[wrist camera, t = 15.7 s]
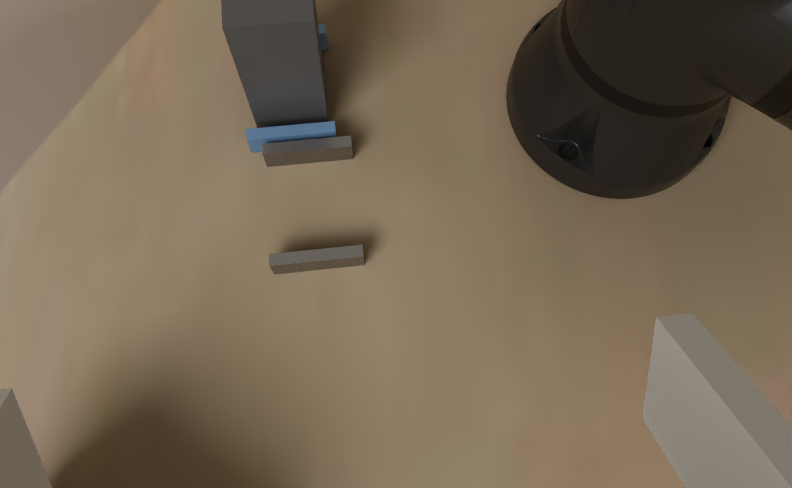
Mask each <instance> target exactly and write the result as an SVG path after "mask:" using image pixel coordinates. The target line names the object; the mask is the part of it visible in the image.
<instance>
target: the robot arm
mask: <svg viewBox="0 0 792 488" xmlns="http://www.w3.org/2000/svg"><path fill="white" fill-rule="evenodd" d="M732 96H734V97H735V98H737V99H739V100H741V101H743V102H744V103H746V104H748V105H750V106H752V107H753V108H755V109H757V110H759V111H760V112H762V113H764V114H766V115H768V116H769V117H771V118H772V119H773V120H775V121H777V122H779V123H780V124H782V125H784V126H785V127H787V128H789V129H790V130H792V0H562V1H561V2H560V3H559V5H558V7H557V8H555V9H553V10H552V11H550V12H549V13H548V14H546V15H545V16H544V17H543V18H542V19H540V20H539V21H538V22H537V23H536V24H535V25H534V26H533V28H532V29H531V30H530V31H529V33H528V34H527V35H526V37H525V38H524V40H523V42H522V43H521V45H520V47H519V49H518V51H517V54H516V56H515V59H514V62H513V65H512V68H511V71H510V74H509V78H508V83H507V95H506V98H507V109H508V114H509V118H510V122H511V125H512V127H513V130H514V132H515V134H516V136H517V138H518V140H519V142H520V144H521V145H522V147H523V148H524V150H525V151H526V152H527V154H528V155H529V156H530V157H531V158H532V160H533V161H534V162H535V163H536V164H537V165H538V166H539V167H540V168H542V169H543V170H544V171H545V172H546V173H548V174H549V175H550V176H552V177H553V178H555V179H556V180H558V181H559V182H561V183H563V184H565V185H567V186H569V187H571V188H573V189H575V190H578V191H581V192H583V193H587V194H590V195H594V196H599V197H605V198H615V199H627V198H637V197H643V196H648V195H651V194H654V193H657V192H660V191H662V190H665V189H667V188H669V187H671V186H672V185H674V184H676V183H677V182H679V181H680V180H681V179H683V178H684V177H685V176H686V175H687V174H689V173H690V172H691V171H692V170H693V169H694V168H695V167H696V166H697V165H698V164H699V163H700V162H701V161H702V160H703V159H704V158H705V157H706V156H707V155H708V153H709V152H710V151H711V149H712V148H713V146H714V145H715V143H716V141H717V139H718V137H719V135H720V133H721V131H722V128H723V125H724V122H725V118H726V115H727V112H728V109H729V105H730V102H731V99H732ZM643 419H644V421H645V423H646V424H647V426H648V428H649V429H650V431H651V433H652V434H653V436H654V437H655V439H656V441H657V442H658V444H659V446H660V447H661V449H662V450H663V452H664V454H665V455H666V457H667V459H668V460H669V462H670V463H671V465H672V467H673V468H674V470H675V472H676V473H677V475H678V476H679V478H680V480H681V481H682V483H683V485H684V486H685V488H792V426H791V425H790V424H789V423H788V422H787V420H786V419H785V418H784V417H783V416H782V415H781V414H780V412H779V411H778V410H777V409H776V408H775V407H774V406H773V405H772V403H771V402H770V401H769V400H768V399H767V398H766V397H765V395H764V394H763V393H762V392H761V391H760V390H759V389H758V388H757V386H756V385H755V384H754V383H753V382H752V381H751V380H750V378H749V377H748V376H747V375H746V374H745V373H744V372H743V371H742V369H741V368H740V367H739V366H738V365H737V364H736V363H735V361H734V360H733V359H732V358H731V357H730V356H729V355H728V354H727V352H726V351H725V350H724V349H723V348H722V347H721V346H720V344H719V343H718V342H717V341H716V340H715V339H714V338H713V337H712V335H711V334H710V333H709V332H708V331H707V330H706V329H705V327H704V326H703V325H702V324H701V323H700V322H699V321H698V320H697V318H696V317H695V316H694V315H693V314H692V313H686V314H677V315H668V316H659V317H656V323H655V330H654V337H653V345H652V352H651V359H650V367H649V374H648V381H647V389H646V396H645V403H644V411H643ZM0 488H52V486H51V483H50V481H49V479H48V476H47V474H46V471H45V469H44V466H43V464H42V461H41V459H40V456H39V454H38V451H37V449H36V447H35V444H34V442H33V439H32V437H31V434H30V432H29V429H28V427H27V424H26V422H25V419H24V417H23V415H22V412H21V410H20V407H19V405H18V402H17V400H16V397H15V395H14V392H13V390H12V388H11V389H2V390H0Z"/></svg>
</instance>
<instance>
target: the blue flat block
mask: <svg viewBox="0 0 792 488" xmlns="http://www.w3.org/2000/svg"><path fill="white" fill-rule="evenodd" d="M318 28H319V36H320V44H321V50H325V49H328V46H327V37H326V28H325V24H318ZM246 134H247V142H248V144H249V147H250V149H251V152H263V151H262V144H265V143H276V142H287V141H298V140H309V139H320V138H330V137H336V128H335V121H330V122H319V123H308V124H297V125H286V126H275V127H264V128H253V129H246Z"/></svg>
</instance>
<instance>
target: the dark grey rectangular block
mask: <svg viewBox="0 0 792 488" xmlns="http://www.w3.org/2000/svg"><path fill="white" fill-rule="evenodd" d="M221 5H222V28H223V31H224V34H225V36H226V39H227V42H228V45H229V48H230V51H231V54H232V56H233V59H234V62H235V65H236V68H237V71H238V74H239V76H240V79H241V82H242V85H243V88H244V91H245V94H246V96H247V99H248V102H249V105H250V108H251V111H252V113H253V116H254V119H255V122H256V125H257V128H264V127H275V126H286V125H297V124H308V123H319V122H328V113H327V102H326V91H325V80H324V69H323V59H322V52H321V44H320V36H319V28H318V21H317V13H316V5H315V0H221Z"/></svg>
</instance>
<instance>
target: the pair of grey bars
mask: <svg viewBox="0 0 792 488" xmlns="http://www.w3.org/2000/svg"><path fill="white" fill-rule="evenodd" d="M262 151H263V157H264V159H265V162H266V165H267V167H270V166H281V165H292V164H302V163H313V162H324V161H334V160H345V159H353V152H352V141H351V136H341V137H330V138H320V139H309V140H298V141H287V142H276V143H265V144H262ZM269 262H270V267H271V269H272V271H273V273H274V274H282V273H291V272H301V271H311V270H320V269H330V268H340V267H349V266H359V265H364V254H363V245H354V246H344V247H334V248H324V249H314V250H304V251H295V252H285V253H275V254H269Z"/></svg>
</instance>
